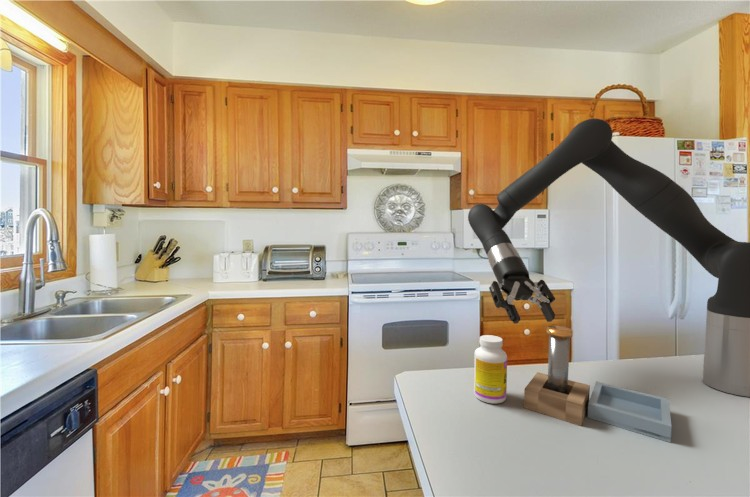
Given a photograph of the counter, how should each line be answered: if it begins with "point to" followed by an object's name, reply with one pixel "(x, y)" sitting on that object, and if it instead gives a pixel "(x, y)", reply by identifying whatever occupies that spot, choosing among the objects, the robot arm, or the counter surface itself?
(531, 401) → the socket block
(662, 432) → the tray
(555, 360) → the pin
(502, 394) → the supplement bottle
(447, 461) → the counter surface
